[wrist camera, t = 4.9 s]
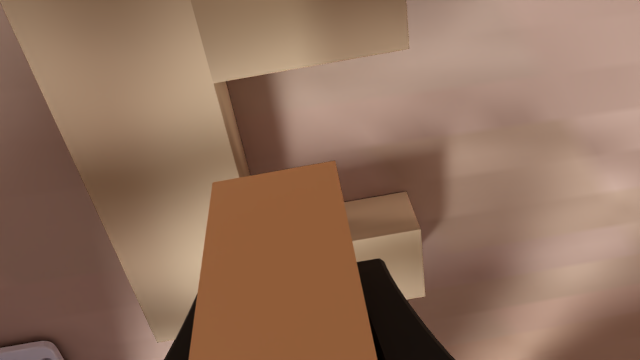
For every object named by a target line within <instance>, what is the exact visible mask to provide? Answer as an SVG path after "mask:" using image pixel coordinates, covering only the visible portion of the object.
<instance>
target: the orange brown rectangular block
mask: <svg viewBox="0 0 640 360" xmlns="http://www.w3.org/2000/svg"><path fill="white" fill-rule="evenodd" d="M189 360H377V356H376V351H375V346H374V341H373V337H372V332H371V327H370V323H369V318H368V313H367V308H366V304H365V299H364V294H363V290H362V285H361V280H360V275H359V271H358V266H357V261H356V257H355V252H354V247H353V243H352V238H351V233H350V228H349V224H348V219H347V214H346V210H345V205H344V200H343V195H342V191H341V186H340V181H339V177H338V172H337V167H336V162H335V161H330V162H324V163H319V164H313V165H308V166H302V167H296V168H291V169H285V170H280V171H274V172H268V173H263V174H257V175H252V176H246V177H240V178H235V179H229V180H224V181H218V182H213V183H212V190H211V198H210V205H209V213H208V220H207V227H206V235H205V242H204V249H203V257H202V264H201V271H200V279H199V286H198V294H197V301H196V308H195V316H194V323H193V330H192V338H191V345H190V352H189Z"/></svg>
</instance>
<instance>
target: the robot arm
mask: <svg viewBox="0 0 640 360" xmlns="http://www.w3.org/2000/svg"><path fill="white" fill-rule="evenodd" d="M357 266H358V271H359V275H360V280H361V285H362V290H363V294H364V299H365V304H366V308H367V313H368V318H369V323H370V327H371V332H372V337H373V341H374V346H375V351H376V356H377V360H455V359H454V358H453V357H452V356H451V355H450V354H449V353H448V352H447V350H446V349H445V348H444V347H443V346H442V345H441V343H440V342H439V341H438V340H437V339H436V338H435V337H434V335H433V334H432V333H431V332H430V330H429V329H428V328H427V327H426V325H425V324H424V323H423V321H422V320H421V319H420V318H419V316H418V315H417V314H416V312H415V311H414V310H413V308H412V307H411V306H410V304H409V303H408V301H407V300H406V298H405V297H404V295H403V294H402V292H401V291H400V289H399V288H398V286H397V285H396V283H395V281H394V280H393V278H392V276H391V274H390V272H389V270H388V269H387V267H386V264H385V262H384V261H383V260H381V259H380V258H377V259H372V260H366V261H360V262H357ZM197 294H198V293H197ZM196 301H197V295H196V297H195V299H194V302H193V304H192V306H191V308H190V310H189V312H188V314H187V316H186V319H185V321H184V323H183V325H182V327H181V329H180V331H179V333H178V335H177V337H176V339H175V340H174V342H173V344H172V346H171V348H170V350H169V352H168V353H167V355H166V357H165V359H164V360H189V352H190V345H191V338H192V330H193V323H194V316H195V308H196ZM0 360H64V359H63V357H62V355H61V354H60V352H59V350H58V349H57V347H56V346H55V345H54V344H53V343H51V342H49V341H38V342H32V343H26V344H21V345H15V346H9V347H3V348H0Z"/></svg>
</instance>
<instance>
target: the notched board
mask: <svg viewBox="0 0 640 360" xmlns="http://www.w3.org/2000/svg"><path fill="white" fill-rule="evenodd" d="M0 3H1V5H2V7H3V9H4V12H5V14H6V16H7V18H8V20H9V22H10V25H11V27H12V29H13V31H14V33H15V35H16V38H17V40H18V42H19V44H20V46H21V48H22V51H23V53H24V55H25V57H26V59H27V61H28V64H29V66H30V68H31V70H32V72H33V75H34V77H35V79H36V81H37V83H38V85H39V88H40V90H41V92H42V94H43V96H44V98H45V101H46V103H47V105H48V107H49V109H50V111H51V114H52V116H53V118H54V120H55V122H56V124H57V127H58V129H59V131H60V133H61V135H62V137H63V140H64V142H65V144H66V146H67V148H68V150H69V153H70V155H71V157H72V159H73V161H74V163H75V166H76V168H77V170H78V172H79V174H80V176H81V179H82V181H83V183H84V185H85V187H86V189H87V192H88V194H89V196H90V198H91V200H92V202H93V205H94V207H95V209H96V211H97V213H98V215H99V218H100V220H101V222H102V224H103V226H104V228H105V231H106V233H107V235H108V237H109V239H110V241H111V244H112V246H113V248H114V250H115V252H116V254H117V257H118V259H119V261H120V263H121V265H122V267H123V270H124V272H125V274H126V276H127V278H128V280H129V283H130V285H131V287H132V289H133V291H134V293H135V296H136V298H137V300H138V302H139V304H140V306H141V309H142V311H143V313H144V315H145V317H146V319H147V322H148V324H149V326H150V328H151V330H152V332H153V335H154V337H155V339H156V341H157V343H159V342H165V341H170V340H175V339H176V337H177V335H178V333H179V331H180V329H181V327H182V325H183V323H184V321H185V319H186V316H187V314H188V312H189V310H190V308H191V306H192V304H193V302H194V299H195V297H196V295H197V293H198V286H199V279H200V271H201V264H202V257H203V249H204V242H205V235H206V227H207V220H208V213H209V205H210V198H211V190H212V183H213V182H218V181H224V180H229V179H235V178H240V177H246V176H250V173H249V169H248V165H247V161H246V157H245V153H244V150H243V146H242V142H241V138H240V134H239V130H238V127H237V123H236V119H235V115H234V111H233V107H232V104H231V100H230V96H229V92H228V88H227V84H226V81H230V80H236V79H241V78H247V77H253V76H258V75H264V74H270V73H275V72H281V71H287V70H292V69H298V68H304V67H309V66H315V65H321V64H326V63H332V62H338V61H343V60H349V59H355V58H360V57H366V56H372V55H377V54H383V53H389V52H395V51H400V50H406V49H409V36H408V20H407V5H406V0H0ZM344 205H345V210H346V214H347V219H348V224H349V228H350V233H351V238H352V243H353V247H354V252H355V257H356V261H357V262H360V261H366V260H372V259H377V258H380V259H381V260H383V261H384V262H385V264H386V267H387V269H388V270H389V272H390V274H391V276H392V278H393V280H394V281H395V283H396V285H397V286H398V288H399V289H400V291H401V292H402V294H403V295H404V297H405V298H406V300H408V299H414V298H419V297H425V286H424V270H423V255H422V239H421V228H420V226H419V223H418V221H417V218H416V215H415V213H414V210H413V208H412V205H411V203H410V200H409V197H408V195H407V192H401V193H395V194H389V195H383V196H378V197H372V198H366V199H360V200H355V201H349V202H344Z"/></svg>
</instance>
